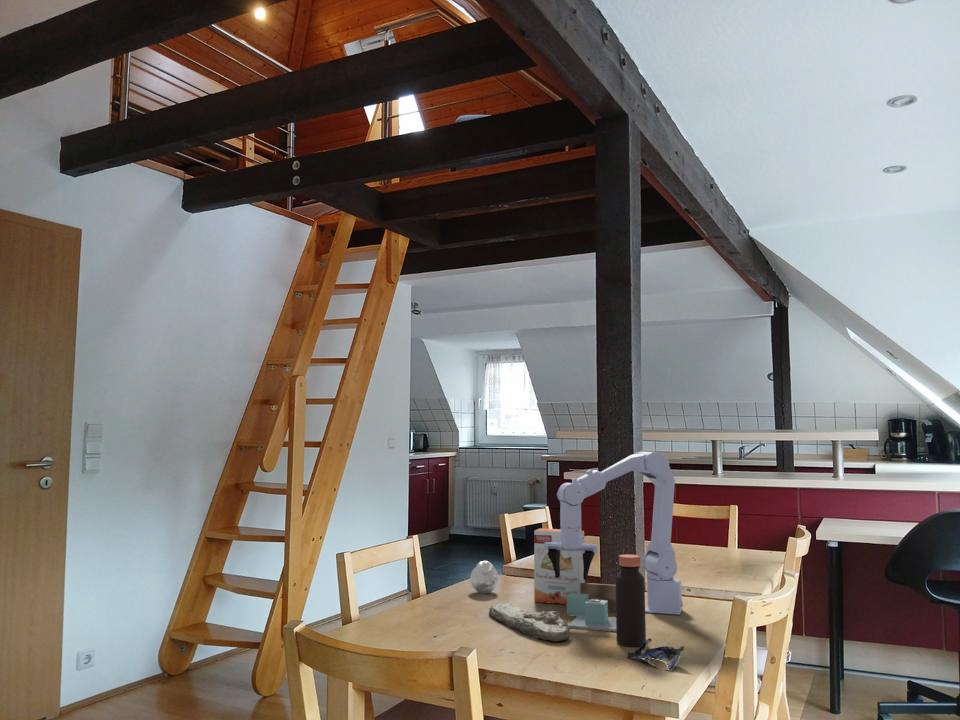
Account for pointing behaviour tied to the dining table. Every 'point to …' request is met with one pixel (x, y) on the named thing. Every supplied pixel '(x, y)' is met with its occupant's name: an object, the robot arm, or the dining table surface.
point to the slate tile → (580, 624)
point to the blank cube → (576, 604)
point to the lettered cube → (596, 611)
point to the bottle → (630, 602)
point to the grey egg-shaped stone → (484, 577)
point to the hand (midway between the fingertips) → (571, 578)
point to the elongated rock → (532, 621)
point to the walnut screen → (600, 593)
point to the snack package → (658, 654)
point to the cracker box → (544, 574)
